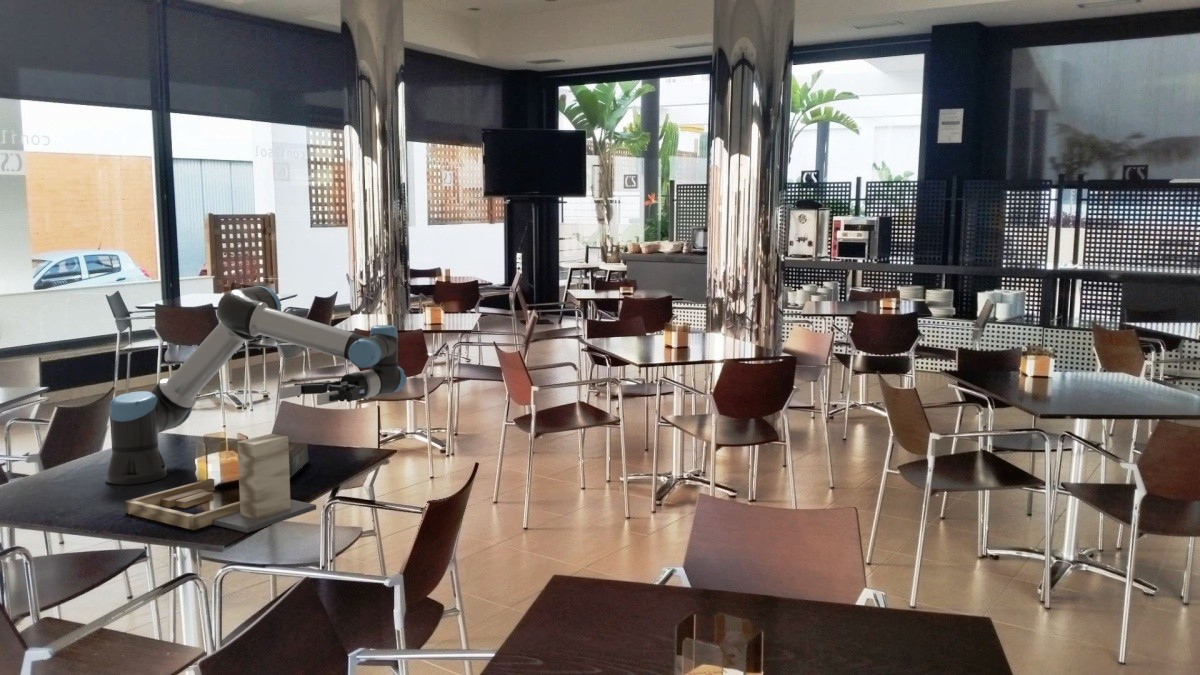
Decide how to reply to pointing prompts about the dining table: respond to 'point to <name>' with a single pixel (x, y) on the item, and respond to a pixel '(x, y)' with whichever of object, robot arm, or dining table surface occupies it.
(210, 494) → the offcut upper
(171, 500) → the offcut lower
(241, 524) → the slate board
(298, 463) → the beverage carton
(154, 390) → the robot arm
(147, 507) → the wooden frame
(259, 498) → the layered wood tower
